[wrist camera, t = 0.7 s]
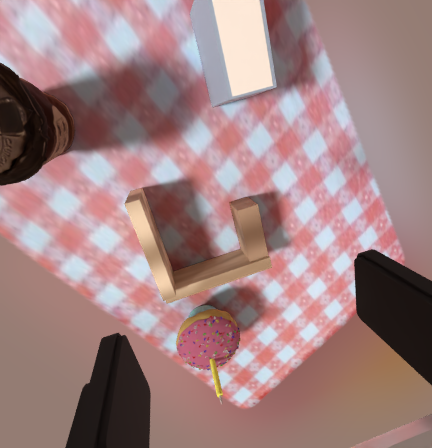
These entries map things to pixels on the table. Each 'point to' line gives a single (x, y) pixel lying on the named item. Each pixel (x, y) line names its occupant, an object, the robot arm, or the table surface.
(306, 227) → the table surface
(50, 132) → the coffee cup
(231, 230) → the table surface
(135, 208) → the rack
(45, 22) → the table surface
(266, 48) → the grey rectangular block
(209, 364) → the cupcake
